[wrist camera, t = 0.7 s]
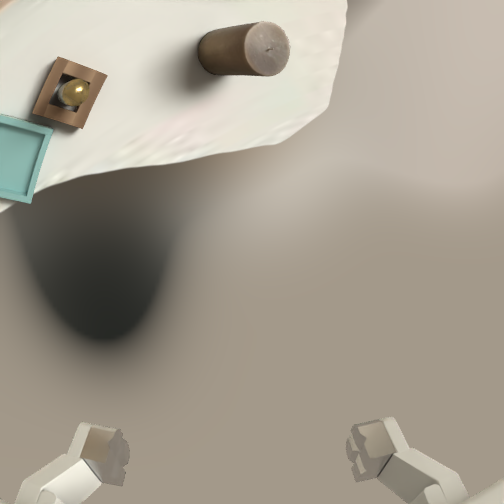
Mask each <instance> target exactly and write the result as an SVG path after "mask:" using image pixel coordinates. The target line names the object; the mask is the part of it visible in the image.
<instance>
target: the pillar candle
mask: <svg viewBox="0 0 504 504" xmlns="http://www.w3.org/2000/svg"><path fill="white" fill-rule="evenodd" d="M289 55H290V44H289V39H288V37H287V36H286V34H285V32H284V30H282V29H281V27H279V26H278V25H276V24H275V23H272V22H264V21H261V22H257V23H251V24H244V25H238V26H232V27H227V28H222V29H217V30H214V31H211V32H209V33H208V34H206V35H205V36H204V37H203V39H202V40H201V42H200V45H199V49H198V58H199V61H200V63H201V65H202V66H203V68H204V69H205V70H206V71H208V72H209V73H211V74H214V75H216V74H217V75H251V76H273V75H276V74H278V73H280V72H281V71H282V70H283V69H284V68H285V66H286V64H287V62H288V59H289Z"/></svg>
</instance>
